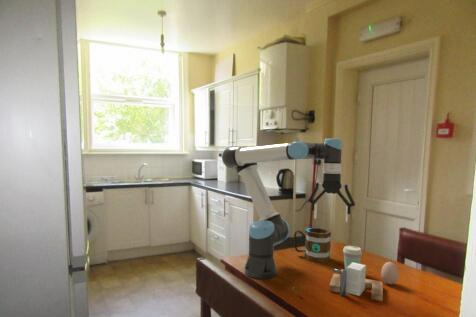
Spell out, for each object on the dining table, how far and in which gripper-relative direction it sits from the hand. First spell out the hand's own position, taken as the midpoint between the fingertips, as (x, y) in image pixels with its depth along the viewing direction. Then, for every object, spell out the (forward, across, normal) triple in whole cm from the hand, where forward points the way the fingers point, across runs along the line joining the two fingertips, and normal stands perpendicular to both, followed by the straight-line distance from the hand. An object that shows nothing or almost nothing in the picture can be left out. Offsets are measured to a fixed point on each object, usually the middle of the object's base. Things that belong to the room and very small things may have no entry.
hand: (330, 219), depth 142 cm
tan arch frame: (+27, +12, -6) cm, 30 cm away
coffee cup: (+27, +9, +12) cm, 31 cm away
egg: (+27, +25, +6) cm, 37 cm away
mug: (+27, -12, +25) cm, 39 cm away
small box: (+27, +12, -9) cm, 31 cm away
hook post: (+27, +6, -15) cm, 31 cm away
